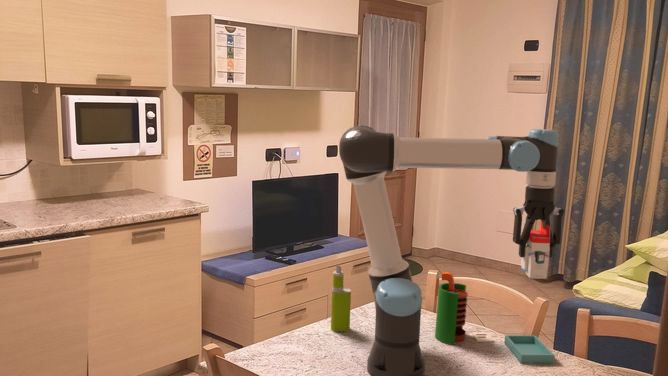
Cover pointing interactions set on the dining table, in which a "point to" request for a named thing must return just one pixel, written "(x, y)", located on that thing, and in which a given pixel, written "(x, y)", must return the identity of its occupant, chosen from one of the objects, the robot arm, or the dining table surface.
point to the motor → (451, 311)
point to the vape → (340, 303)
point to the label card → (482, 337)
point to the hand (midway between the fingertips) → (534, 268)
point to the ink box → (538, 253)
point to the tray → (529, 349)
